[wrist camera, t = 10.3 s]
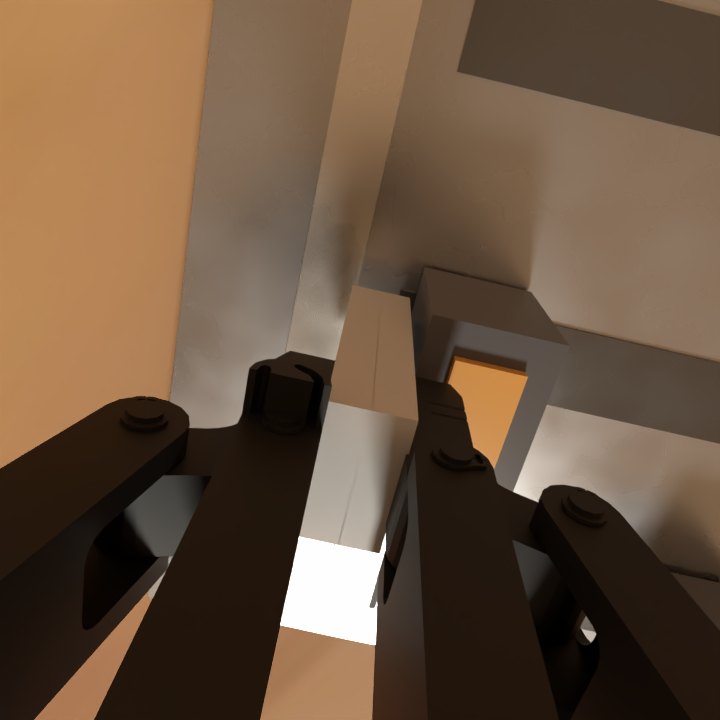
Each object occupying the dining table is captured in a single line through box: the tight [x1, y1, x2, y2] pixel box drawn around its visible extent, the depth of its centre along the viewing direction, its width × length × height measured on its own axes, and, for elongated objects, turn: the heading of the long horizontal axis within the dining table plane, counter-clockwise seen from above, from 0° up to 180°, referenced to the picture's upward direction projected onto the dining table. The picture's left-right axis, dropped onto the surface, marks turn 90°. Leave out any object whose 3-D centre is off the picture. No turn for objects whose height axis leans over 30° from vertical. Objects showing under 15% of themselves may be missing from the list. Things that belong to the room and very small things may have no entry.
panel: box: [148, 0, 720, 645], centre depth 19 cm, size 26×24×2 cm
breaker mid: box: [411, 267, 570, 492], centre depth 15 cm, size 3×4×4 cm
